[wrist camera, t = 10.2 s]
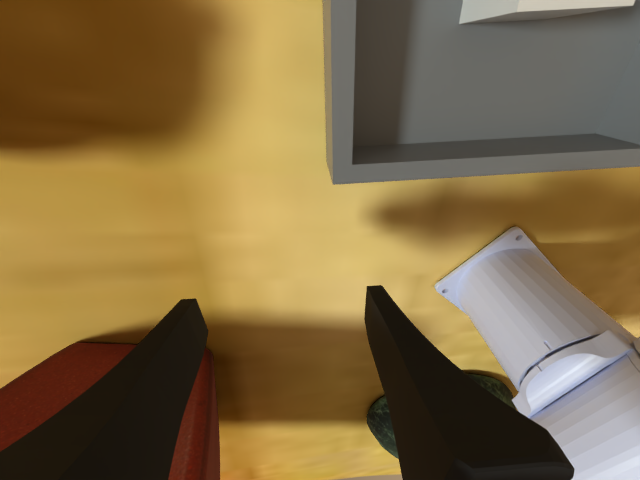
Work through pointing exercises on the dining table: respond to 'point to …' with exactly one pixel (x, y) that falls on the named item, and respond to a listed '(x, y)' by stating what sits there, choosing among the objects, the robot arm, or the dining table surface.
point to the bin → (476, 91)
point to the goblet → (382, 422)
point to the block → (531, 9)
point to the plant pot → (85, 370)
